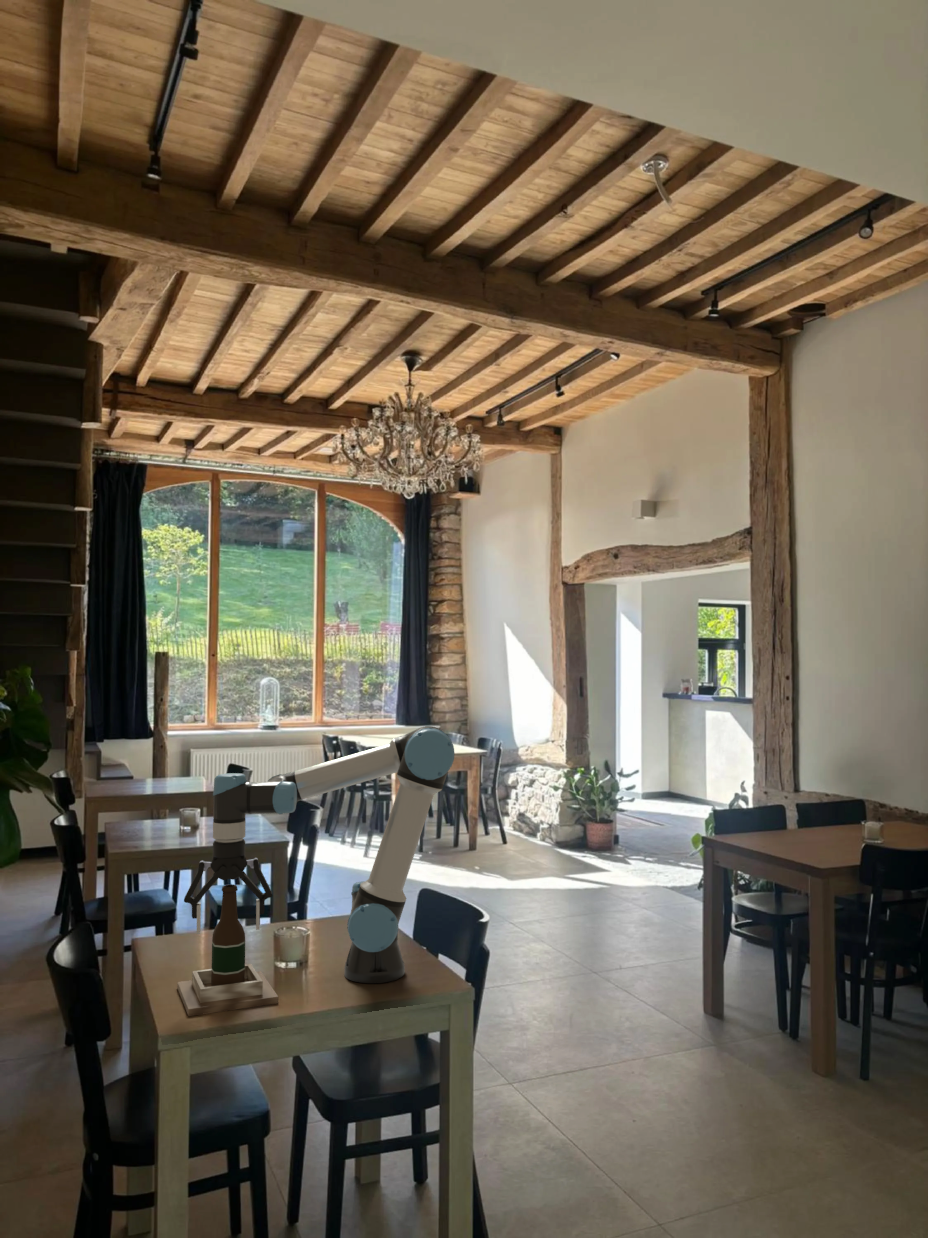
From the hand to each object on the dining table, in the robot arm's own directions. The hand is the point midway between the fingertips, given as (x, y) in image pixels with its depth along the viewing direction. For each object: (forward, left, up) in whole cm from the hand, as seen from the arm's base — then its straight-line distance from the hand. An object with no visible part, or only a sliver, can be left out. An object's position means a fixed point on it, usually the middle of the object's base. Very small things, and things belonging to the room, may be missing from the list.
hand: (228, 930), depth 217 cm
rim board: (0, 0, -15) cm, 15 cm away
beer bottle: (0, 0, -14) cm, 14 cm away
